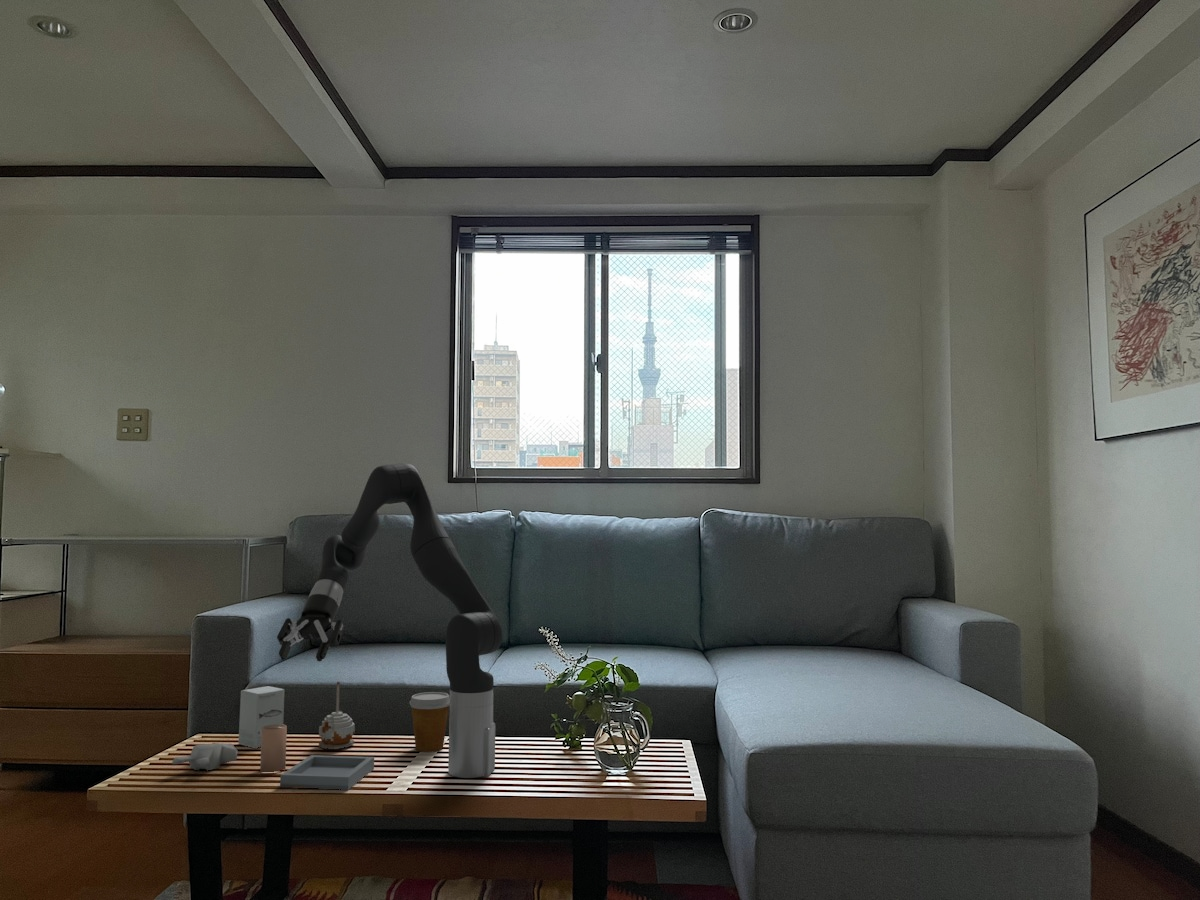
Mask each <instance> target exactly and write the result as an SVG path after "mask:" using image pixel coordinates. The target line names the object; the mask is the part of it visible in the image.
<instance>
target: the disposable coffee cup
mask: <svg viewBox="0 0 1200 900" xmlns="http://www.w3.org/2000/svg"><path fill="white" fill-rule="evenodd" d="M409 704H410V707H411V715H412V717H411V718H412V725H413V735H414V737H413V738H414V743H415V745H414V746H415V750H416V751H418V752H421V753H432V751H433V752H437V751H438V752H439V751H441V750H443V749H444V743H445V736H446V728H447V721H448V717H449V707H450V694H448V693H447V692H440V691H438V692H437V691H429V692H428V691H427V692H420V693H419V692H418V693H416V694H413V695H412V696H411V699H410V700H409ZM442 748H443V749H442Z"/></svg>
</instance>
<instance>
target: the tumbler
mask: <svg viewBox="0 0 1200 900" xmlns="http://www.w3.org/2000/svg"><path fill="white" fill-rule="evenodd" d="M287 726H288V725H286V724H284V723H283V724H272V725H267V726H263V727H262V733H261V747H260V760H259V761H260V767H259V772H260V771H261V772H274V771H280V770H283V769H285V770H286V760H287V759H286V758H287V736H288V735H287V734H288V733H287V731H288V730H287V729H288V727H287ZM261 772H260V773H261Z"/></svg>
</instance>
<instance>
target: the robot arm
mask: <svg viewBox="0 0 1200 900" xmlns="http://www.w3.org/2000/svg"><path fill="white" fill-rule="evenodd" d="M358 501H359V502H358V505H357V507H356V509H355V511H354V513H353V514H352V516H351V518H350V519H349V520H348V522H347V524H346V525H345V527H344V528H343V530H342V531H341V535H339V534H334V535H333V534H332V535H331V536H329V537H328V538H327V539H326V541H325V543H324V545H323V547H322V555H321V556H322V558H321V568H320V572H319V575H318V577H317V579H316V582H315V584H314V586H313V587H312V589H311V590H310V593H309V595H308V597H307V600H306V601H305V604H304V607H303V609H302V612H301V615H300V618H299V619H298V620H292V619H291V618H289V617H287V618H286V619H285V621H283V622H284V623H283V625H282V626H281V628H280V630H279V632H278V634H277V636H276V639H277V640H278V643H279V645H280V649H279V650H278V655H279V657H280V659H281V660H282V661H286V660H287V658H288V656H289V653H290V652H291V649H292V646H293V645H295V644H297V643H300V642H301V641H302V640H314V641H315V640H316V641H317V640H318V639H321V641H322V642H321V643H320V645H319V647H318V650H317V652H316V654H315V659H316V661H317V662H322V661H323V660H324V659H325V658H326V657H327V654H328V651H329V649H330V648H331V647H335V648H336V647H338V646H340V642H341V639H342V636H343V633H344V628H345V627H344V624H343V621H342V620H341V619H337V620H336V622H335V621H334V620H335V619H336V618H335V617H336V615H337V613H338V610H339V607H340V606H341V602H342V599H343V596H344V595H343V594H344V592H345V589H346V586H347V583H348V582H349V578H350V575H349V571H354V570H357V569H359V568H360V567H361V565H362V564H363V562H364V560H365V558H366V557H365V556H366V550H367V546H368V544H369V542H370V541H371V540H372V539H373V537H375V534H376V533H377V531H378V529H379V526H380V517H379V513H378V510H379V509H380V508H382V507H383V506H384V505H392V504H398V503H404V504H405V505H407V507H408V508H409V510H410V513H411V516H412V519H413V526H412V531H411V537H410V542H409V543H410V553H411V556H412V558H413V561H414V562H415V564H416V566H417V568H418V571H419V572H420V574H421V576H423V578H424V579H425V581H427V582H428V584H430V585H431V586H432V587H433V588H434V589H435V590H436V591H438V592H439V593H441V594H442V595H443V596H444V597H445V598H446V599H448V600H449V601H450V602H451V603H452V605H453V606H454V607H455V608H456V609H457V611H458V613H459V614H456V615H455V616H453V617H451V619H450V621H449V622H448V623H447V627H446V630H445V662H446V675H447V679H448V682H449V698H450V705H449V708H448V717H449V719H448V761H447V763H448V772H447V773H448V774H449V775H450V776H451V777H455V778H461V779H463V778H464V779H473V778H481V777H482V778H483V777H489V776H490V775H491V774H492V772H493V771H494V769H495V768H496V765H495V764H496V723H495V722H494V683H495V682H494V676H493V674H492V673H490V672H488V671H484V670H483V669H482V668H481V666H480V656H484V655H488V654H492V653H494V652H496V651H497V650H499V648H500V647H501V645H502V642H503V630H502V625H501V624H500V621H499V619H498V617H497V615H496V614H495V612H494V610H493V609H492V607H490V605H489V603H488V602H487V600H486V599H485V598H484V595H482V593H481V592H480V591H479V590H480V589H478V587H477V585H476V584H475V583H474V580H473V579H472V578H473V577H472V576H471V575H470V573H469V572H468V570H467V568H466V566H465V564H464V563H463V561H462V559H461V557H460V555H459V552H458V551H457V549H456V547H455V545H454V543H453V542H452V539H451V538H450V536H449V535H448V533H447V531H446V530H445V528H444V526H443V524H442V522H441V520H440V519H441V518H439V516H438V513H437V511H436V510H435V508H434V505H433V503H432V500H431V499H430V495H429V493H428V490H427V489H426V486H425V483H424V480H423V479H422V477H421V474H420V473H419V471H418V470H417V468H416V467H415V466H414V465H413V464H411V463H392V464H382V465H380V466H377V467H376V468H374V469H373V470H372V471H371V472H370V475H369V476H368V479H367V481H366V484H365V486H364V489H363V491H362V494H361V497H360V499H359V500H358ZM331 630H333V632H332V634H331V637H330V638H328V636H327V633H328V632H329V631H331ZM298 633H299V635H298Z"/></svg>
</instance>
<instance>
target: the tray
mask: <svg viewBox="0 0 1200 900" xmlns="http://www.w3.org/2000/svg"><path fill="white" fill-rule="evenodd" d="M374 769H375V756H356V755H355V756H351V755H350V756H349V755H348V756H347V755H324V754H323V755H318V754H317V755H316V754H311V755H309V756H308V757H305V759H303V760H302V761H299V763H297V764H295V765H293V766H292V767H291V768H289V769H288V770H286V771H285V772H284V771H283V773H281V774H279V775H280V780H279V781H280V782H279V788H280V787H305V788H319V789H318V790H327V789H339V790H338V791H350V790H351V789H352V788H353V787H354V786H355V785H356V784H358V783H359V782H360V781H362V778H363V777H364V776H365V777H366V776H368V775H369V774H370V773H371V772H372V771H373V770H374ZM369 772H370V773H369ZM368 773H369V774H368ZM365 777H364V778H365ZM364 778H363V779H364ZM357 782H358V783H357ZM351 787H352V788H351ZM340 789H341V790H340Z"/></svg>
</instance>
